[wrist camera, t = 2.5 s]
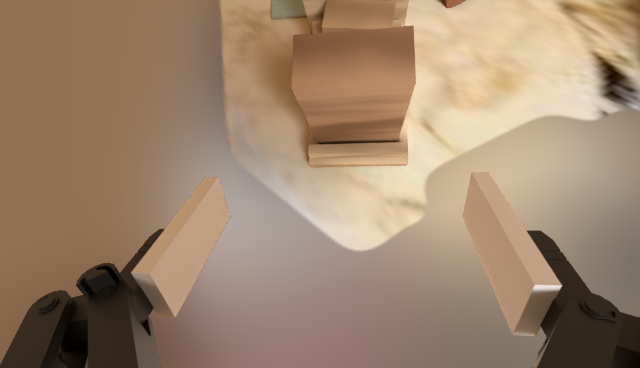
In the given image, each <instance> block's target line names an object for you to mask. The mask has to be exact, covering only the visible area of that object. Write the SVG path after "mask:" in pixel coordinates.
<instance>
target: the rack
mask: <svg viewBox="0 0 640 368" xmlns="http://www.w3.org/2000/svg"><path fill="white" fill-rule="evenodd" d="M408 1H409V0H303V3H304V7H305V11H306V15H307V19H308V23H309V26H310V30H311V34H317V33H329V32H342V31H354V30H366V29H379V28H391V27H403V26H404V24H405V18H406V12H407V6H408ZM308 155H309V165H310V167H339V166H400V165H407V164H408V143H407V116H405V119H404V122H403V126H402V129H401V132H400V136H399V139H398V142H390V143H353V144H318V143H317V141H316V139H315V137H314V135H313V133H312V131H311V129H310V133H309V145H308Z"/></svg>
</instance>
